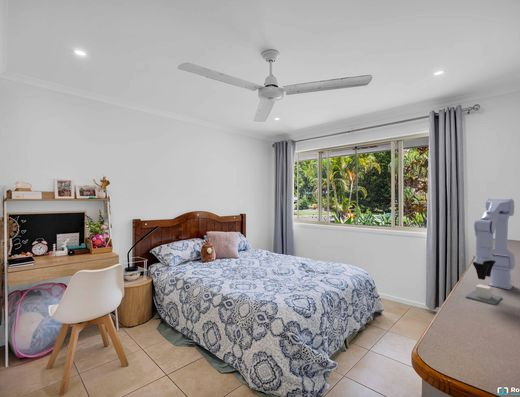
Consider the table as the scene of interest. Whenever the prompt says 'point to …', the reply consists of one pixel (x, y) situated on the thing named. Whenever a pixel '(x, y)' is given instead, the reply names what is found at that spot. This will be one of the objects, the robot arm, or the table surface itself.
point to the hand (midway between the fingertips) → (484, 277)
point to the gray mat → (492, 300)
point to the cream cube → (483, 291)
